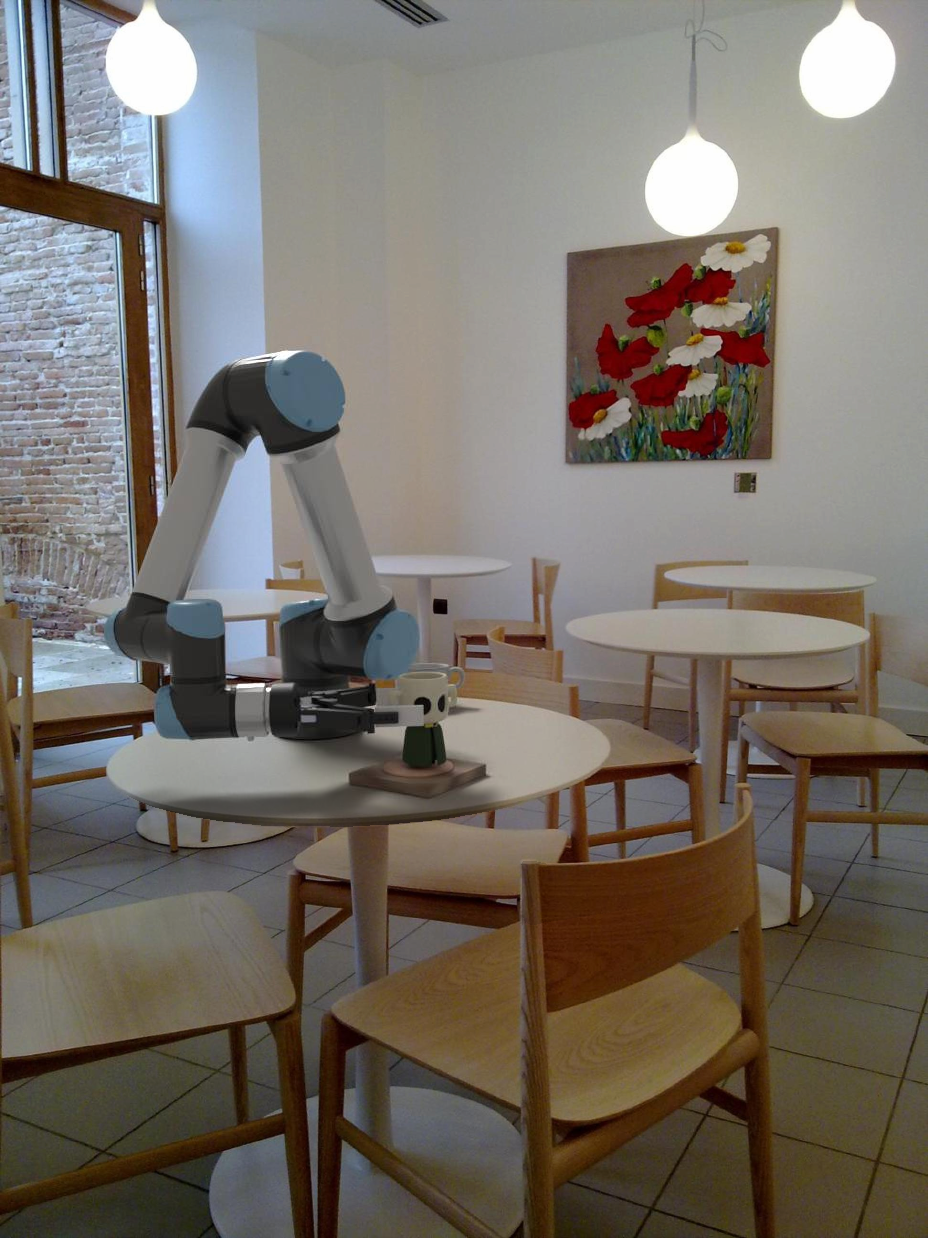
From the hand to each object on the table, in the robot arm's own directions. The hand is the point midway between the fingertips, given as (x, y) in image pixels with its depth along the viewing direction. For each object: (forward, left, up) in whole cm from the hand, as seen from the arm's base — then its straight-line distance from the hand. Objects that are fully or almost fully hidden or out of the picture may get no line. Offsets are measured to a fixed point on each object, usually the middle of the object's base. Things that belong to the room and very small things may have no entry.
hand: (422, 705), depth 142 cm
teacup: (-44, -31, -11) cm, 54 cm away
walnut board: (0, -1, -11) cm, 11 cm away
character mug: (0, 0, -9) cm, 9 cm away
